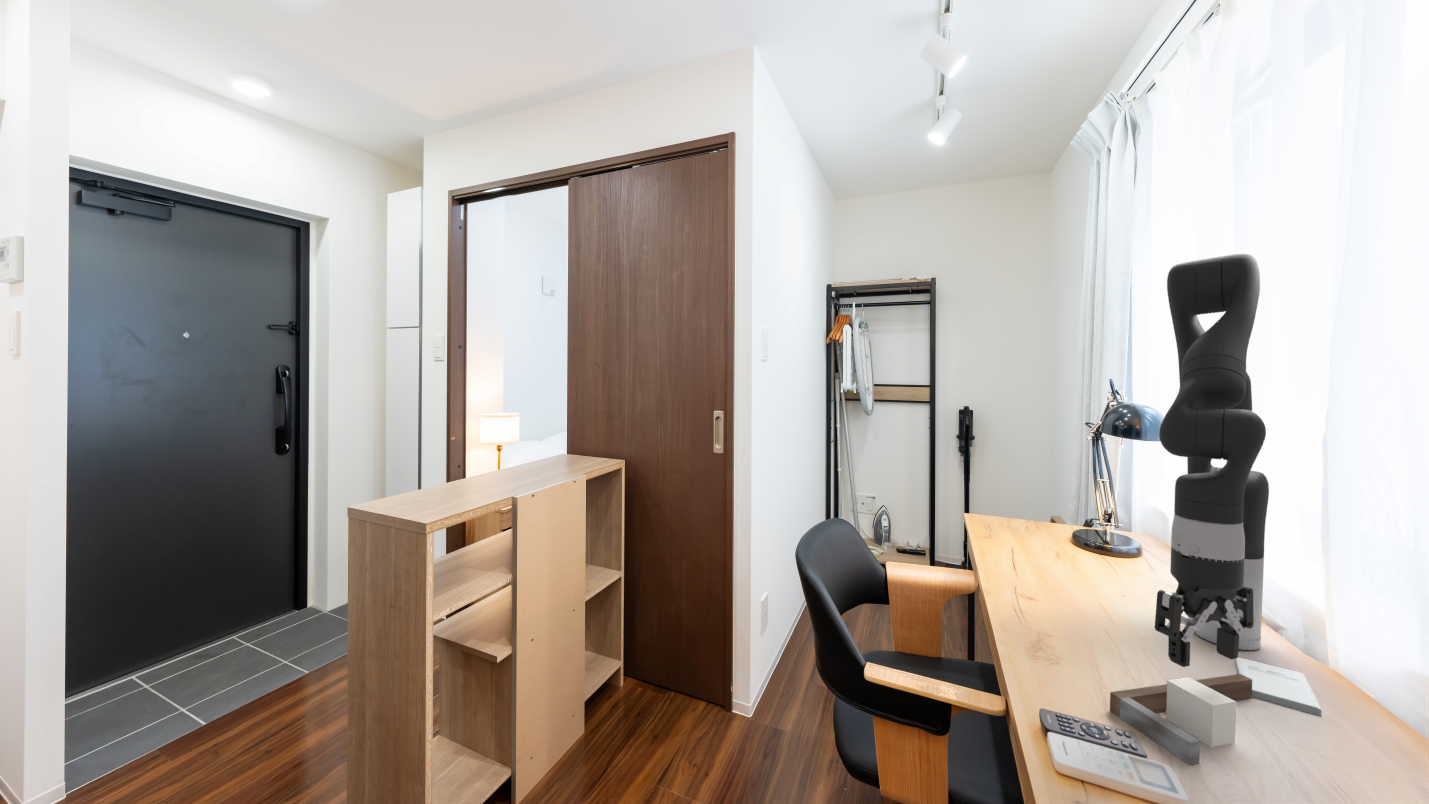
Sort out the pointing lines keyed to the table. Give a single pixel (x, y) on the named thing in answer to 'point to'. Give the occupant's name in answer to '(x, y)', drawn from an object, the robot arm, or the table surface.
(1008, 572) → the table surface
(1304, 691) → the external hard drive
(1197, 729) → the block
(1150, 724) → the guide fence
